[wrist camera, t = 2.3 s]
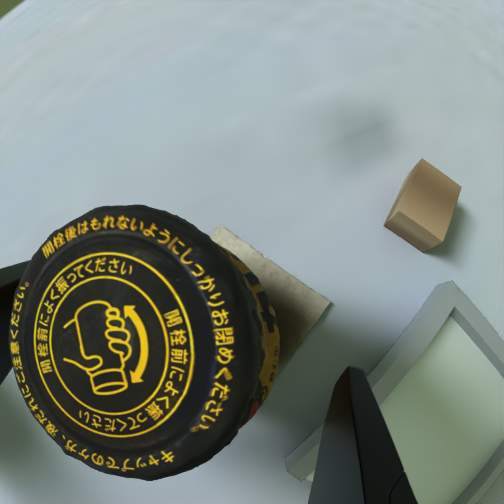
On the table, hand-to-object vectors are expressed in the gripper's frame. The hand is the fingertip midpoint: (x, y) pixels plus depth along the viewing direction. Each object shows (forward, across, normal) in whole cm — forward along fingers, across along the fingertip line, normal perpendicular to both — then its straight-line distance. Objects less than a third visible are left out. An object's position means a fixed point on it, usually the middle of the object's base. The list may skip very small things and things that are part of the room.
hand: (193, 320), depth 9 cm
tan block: (+12, -8, -1) cm, 15 cm away
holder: (+3, -14, +8) cm, 16 cm away
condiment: (+6, 0, +6) cm, 8 cm away
